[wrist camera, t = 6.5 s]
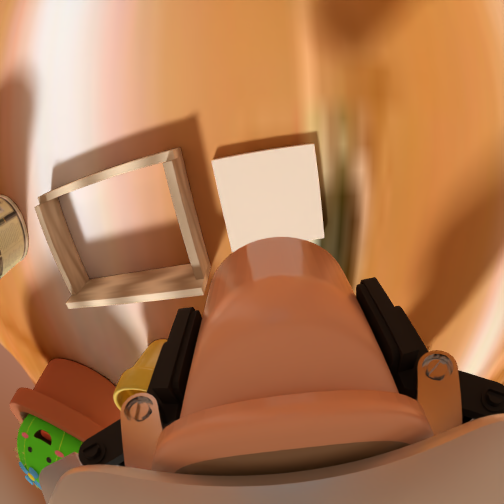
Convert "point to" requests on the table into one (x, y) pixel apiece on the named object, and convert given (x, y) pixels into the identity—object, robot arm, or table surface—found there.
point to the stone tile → (270, 194)
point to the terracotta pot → (285, 372)
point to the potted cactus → (61, 414)
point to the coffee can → (11, 235)
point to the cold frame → (137, 283)
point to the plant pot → (138, 374)
